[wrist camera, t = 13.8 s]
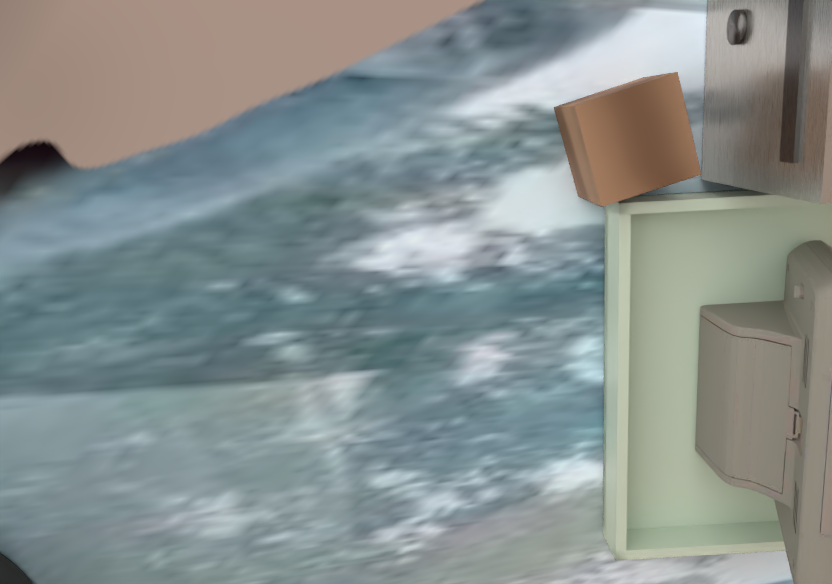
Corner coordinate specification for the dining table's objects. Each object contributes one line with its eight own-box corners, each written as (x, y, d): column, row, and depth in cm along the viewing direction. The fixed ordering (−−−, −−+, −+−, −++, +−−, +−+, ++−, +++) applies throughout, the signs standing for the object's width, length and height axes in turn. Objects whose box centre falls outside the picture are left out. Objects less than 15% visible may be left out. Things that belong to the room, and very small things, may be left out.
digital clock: (799, 509, 45) (917, 626, 35) (653, 490, 45) (730, 603, 34) (875, 246, 42) (1033, 289, 31) (718, 223, 41) (825, 258, 31)
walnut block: (577, 196, 41) (601, 206, 37) (553, 107, 40) (574, 106, 35) (665, 167, 41) (701, 174, 36) (643, 77, 40) (677, 72, 35)
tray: (602, 534, 46) (615, 560, 43) (604, 197, 41) (619, 203, 39) (871, 518, 46) (901, 543, 43) (904, 181, 42) (939, 185, 39)
